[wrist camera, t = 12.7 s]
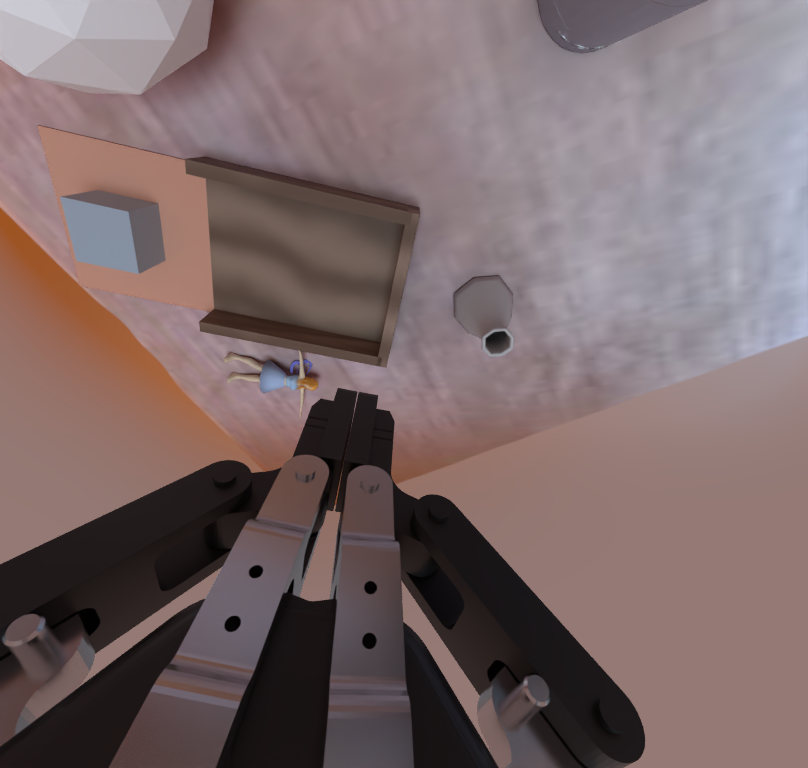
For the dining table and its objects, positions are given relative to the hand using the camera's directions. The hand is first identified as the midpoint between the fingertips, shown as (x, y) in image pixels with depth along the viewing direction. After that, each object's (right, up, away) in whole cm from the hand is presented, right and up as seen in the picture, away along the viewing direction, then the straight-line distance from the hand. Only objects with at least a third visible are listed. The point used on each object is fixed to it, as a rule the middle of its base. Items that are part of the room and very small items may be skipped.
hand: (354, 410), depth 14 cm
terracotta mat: (-27, +18, +27) cm, 42 cm away
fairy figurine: (-15, +3, +37) cm, 40 cm away
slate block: (-27, +18, +27) cm, 42 cm away
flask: (+11, +11, +31) cm, 35 cm away
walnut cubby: (-9, +14, +29) cm, 34 cm away
